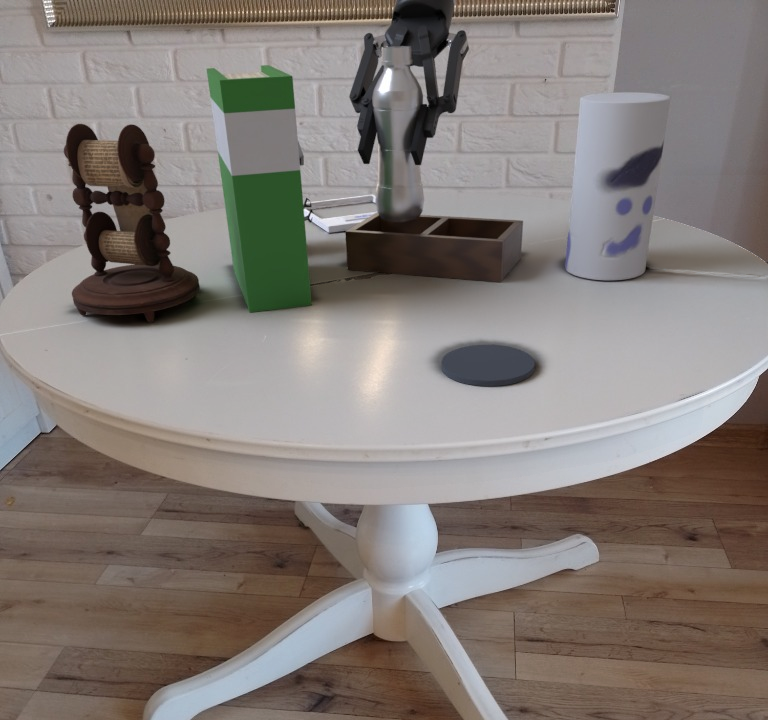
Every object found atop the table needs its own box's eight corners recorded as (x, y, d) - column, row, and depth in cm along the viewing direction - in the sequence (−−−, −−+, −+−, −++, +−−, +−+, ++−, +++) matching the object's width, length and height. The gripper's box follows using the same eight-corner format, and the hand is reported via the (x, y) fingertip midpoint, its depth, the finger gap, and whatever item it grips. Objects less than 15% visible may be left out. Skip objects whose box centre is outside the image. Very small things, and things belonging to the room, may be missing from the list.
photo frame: (328, 225, 122) (294, 202, 136) (328, 232, 123) (294, 209, 137) (414, 213, 126) (373, 193, 140) (414, 221, 127) (373, 199, 141)
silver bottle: (372, 227, 103) (365, 49, 92) (379, 215, 109) (373, 46, 98) (422, 227, 102) (420, 47, 92) (426, 214, 108) (425, 44, 97)
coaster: (543, 355, 79) (543, 349, 79) (522, 391, 72) (523, 385, 72) (456, 345, 82) (456, 340, 82) (428, 379, 75) (428, 373, 75)
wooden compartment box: (521, 258, 108) (523, 220, 105) (500, 282, 99) (502, 241, 97) (377, 248, 115) (376, 212, 112) (347, 269, 106) (345, 231, 103)
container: (608, 287, 96) (631, 103, 86) (548, 269, 103) (562, 96, 92) (661, 270, 101) (689, 94, 90) (600, 254, 108) (619, 89, 97)
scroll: (223, 292, 100) (198, 115, 89) (157, 332, 88) (119, 136, 77) (125, 283, 104) (89, 114, 93) (50, 321, 93) (-1, 133, 82)
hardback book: (233, 271, 107) (206, 68, 94) (288, 265, 109) (268, 65, 96) (249, 312, 93) (219, 80, 80) (311, 305, 94) (292, 76, 81)
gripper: (503, 19, 103) (469, 178, 99) (365, 24, 109) (328, 174, 105) (495, -31, 96) (459, 138, 92) (348, -23, 102) (308, 136, 98)
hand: (389, 157), depth 98 cm, fingers closed on silver bottle, 6 cm apart
